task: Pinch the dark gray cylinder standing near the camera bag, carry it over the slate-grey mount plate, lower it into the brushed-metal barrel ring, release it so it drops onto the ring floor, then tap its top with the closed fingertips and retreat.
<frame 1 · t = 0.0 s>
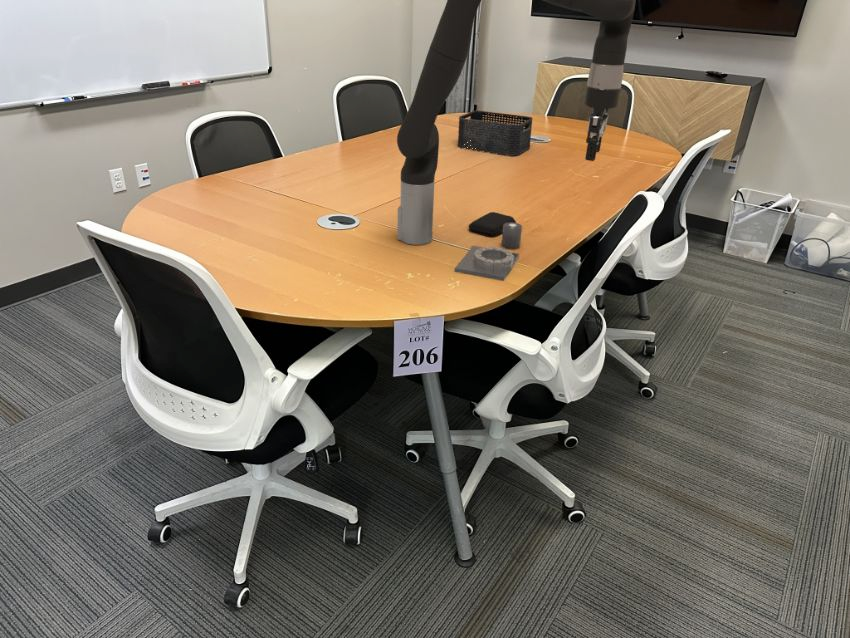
hand: (592, 156, 147), 29 cm above the table, fingers open, 8 cm apart
storage bin: (493, 148, 269), on the table
carrying case or bag: (493, 229, 185), on the table
lens mount: (487, 264, 161), on the table
dark gray cylinder: (510, 245, 173), on the table
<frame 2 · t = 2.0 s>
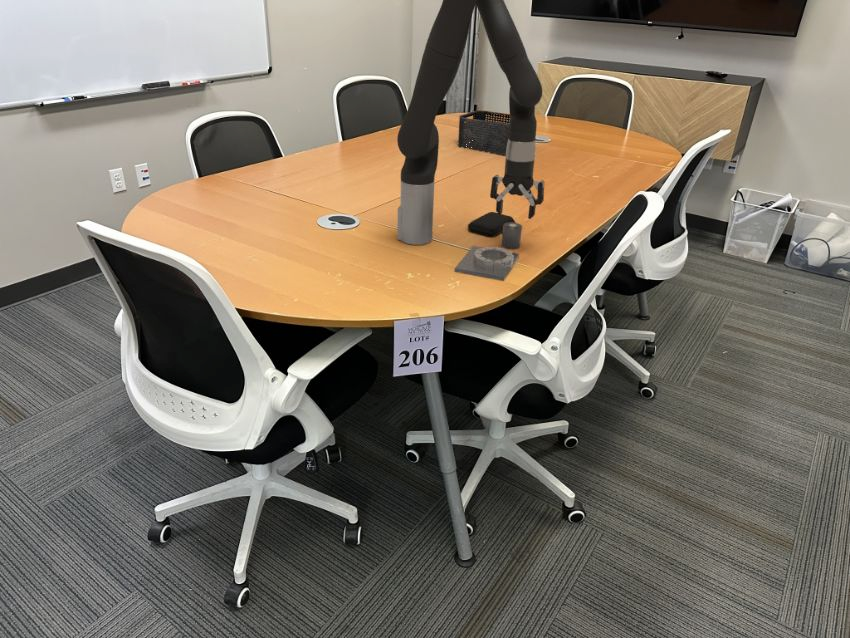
hand: (515, 215, 168), 9 cm above the table, fingers open, 8 cm apart
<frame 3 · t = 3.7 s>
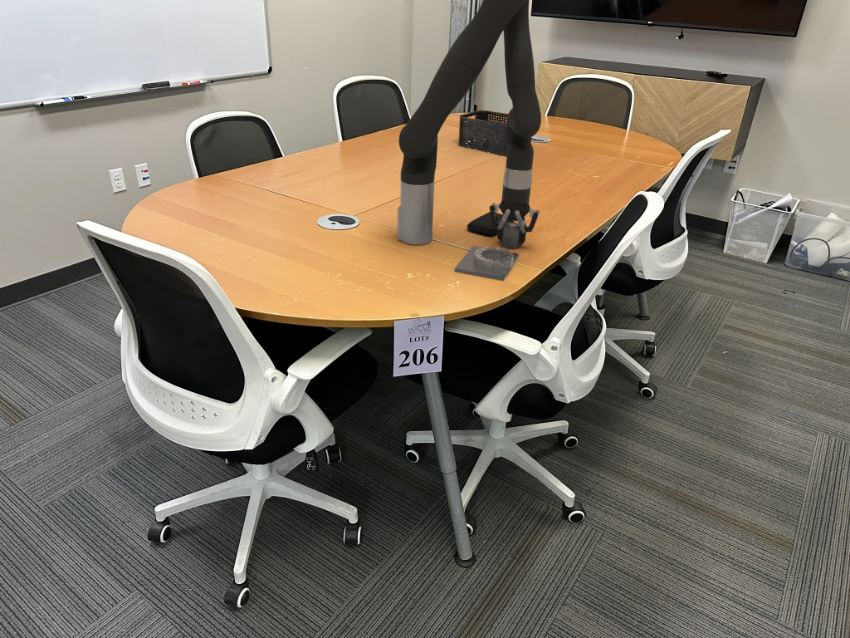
hand: (510, 242, 173), 1 cm above the table, fingers closed on dark gray cylinder, 5 cm apart
dark gray cylinder: (510, 245, 173), on the table, touching gripper
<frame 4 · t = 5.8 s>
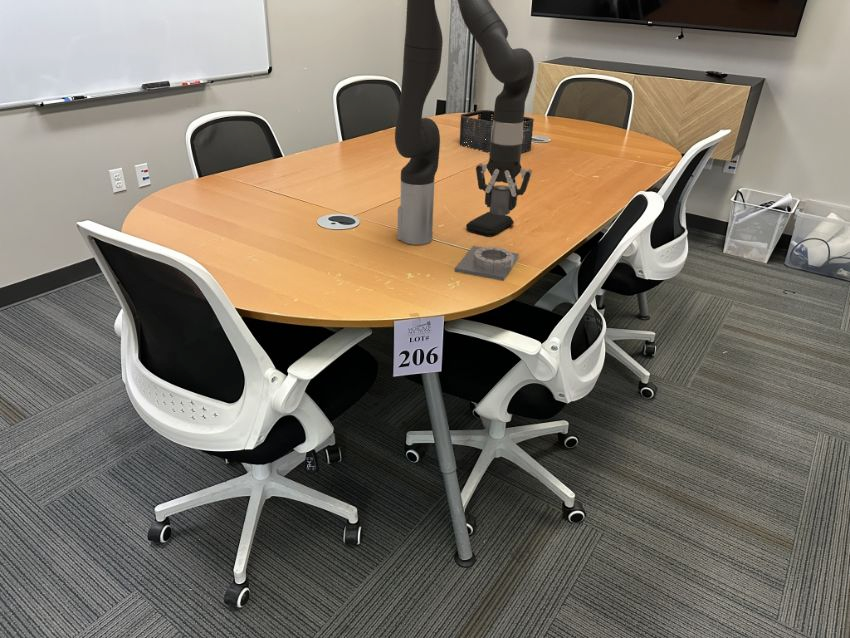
hand: (500, 207, 154), 15 cm above the table, fingers closed on dark gray cylinder, 5 cm apart
dark gray cylinder: (499, 211, 155), point 14 cm above the table, touching gripper
when the fingers open (3 cm above the table, at t = 8.3 s): dark gray cylinder drops 1 cm, resting on lens mount.
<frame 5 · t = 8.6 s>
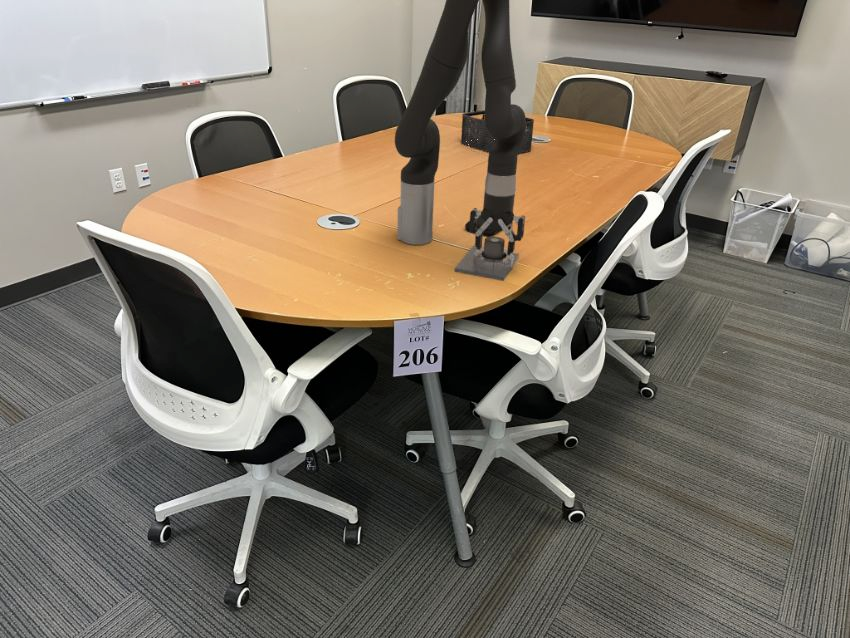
hand: (494, 251, 159), 4 cm above the table, fingers open, 7 cm apart
dark gray cylinder: (492, 261, 161), point 1 cm above the table, touching lens mount
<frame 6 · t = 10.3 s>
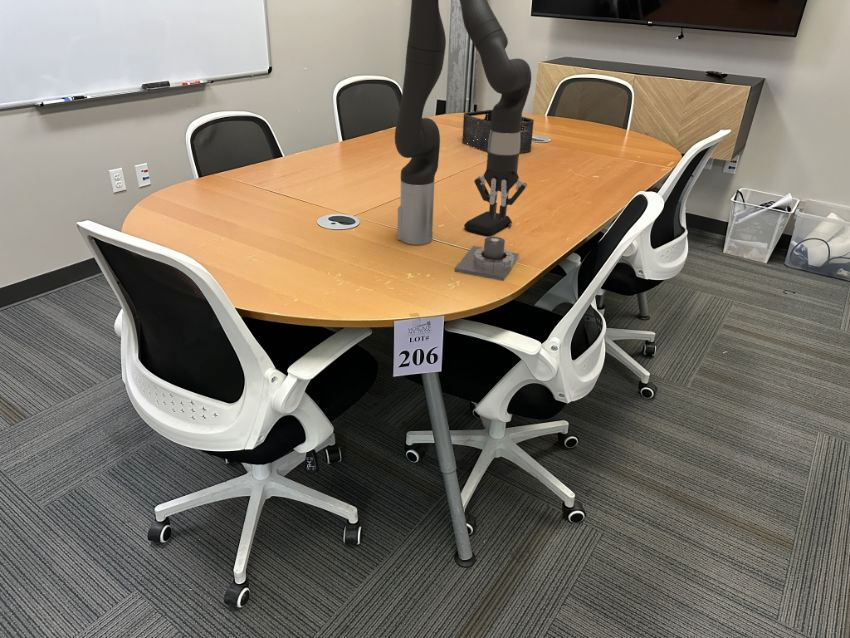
hand: (497, 218, 155), 13 cm above the table, fingers closed
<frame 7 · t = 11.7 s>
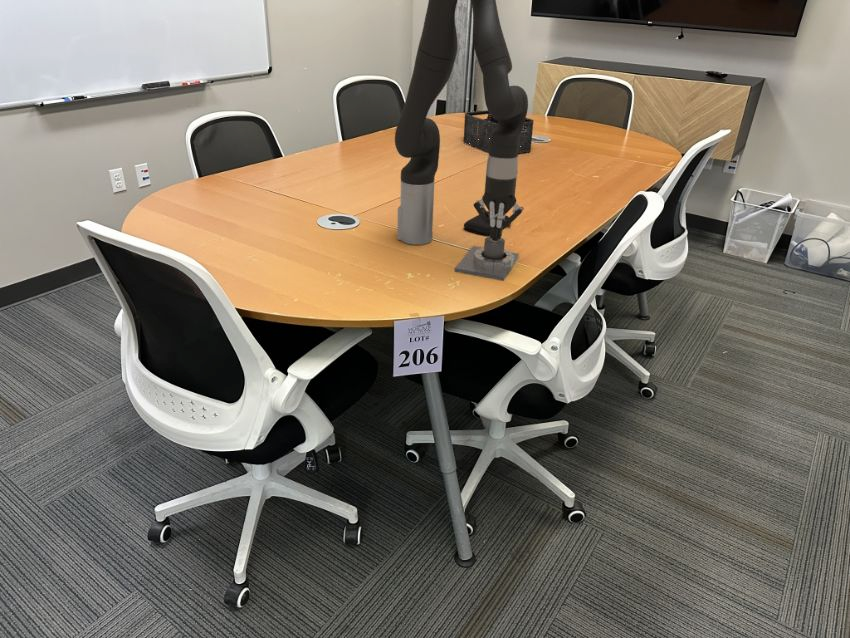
hand: (495, 239, 157), 7 cm above the table, fingers closed
dark gray cylinder: (492, 261, 161), point 1 cm above the table, touching gripper, lens mount
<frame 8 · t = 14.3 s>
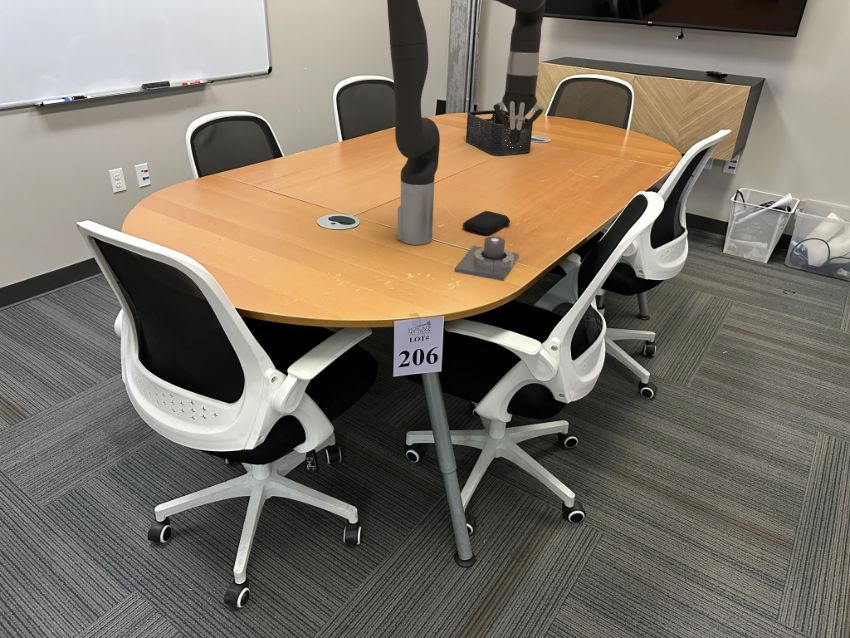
hand: (515, 144, 156), 29 cm above the table, fingers closed
dark gray cylinder: (492, 261, 161), point 1 cm above the table, touching lens mount
at the end: dark gray cylinder 0.1 cm from the target spot on the lens mount, point 1.0 cm above the lens mount's base; dark gray cylinder tilted 0°; the gripper is holding nothing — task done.
